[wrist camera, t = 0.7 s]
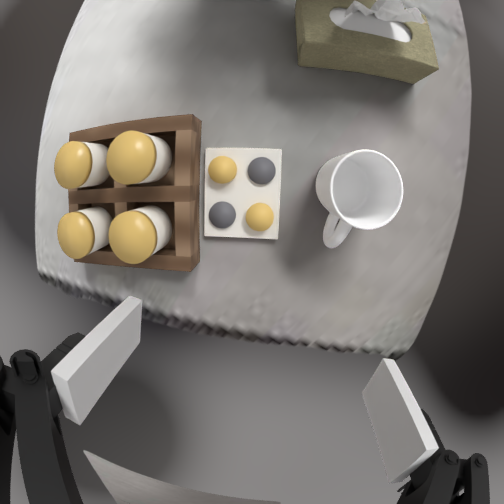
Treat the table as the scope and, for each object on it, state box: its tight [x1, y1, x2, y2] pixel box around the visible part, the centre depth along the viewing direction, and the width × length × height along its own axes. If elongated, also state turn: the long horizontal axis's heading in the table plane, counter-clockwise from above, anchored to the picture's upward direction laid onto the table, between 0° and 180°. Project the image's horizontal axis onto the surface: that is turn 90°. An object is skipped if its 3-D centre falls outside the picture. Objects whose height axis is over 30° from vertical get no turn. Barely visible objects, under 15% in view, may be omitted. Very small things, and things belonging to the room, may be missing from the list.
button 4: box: [109, 205, 172, 264], centre depth 31 cm, size 6×6×6 cm
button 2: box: [57, 206, 113, 259], centre depth 32 cm, size 6×6×6 cm
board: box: [68, 114, 202, 272], centre depth 35 cm, size 20×20×5 cm
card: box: [204, 148, 282, 239], centre depth 35 cm, size 12×10×2 cm
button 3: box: [106, 131, 172, 184], centre depth 29 cm, size 6×6×6 cm
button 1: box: [54, 141, 110, 189], centre depth 30 cm, size 6×6×6 cm
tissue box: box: [295, 0, 439, 84], centre depth 22 cm, size 19×10×16 cm, turn 90°
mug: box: [316, 149, 403, 248], centre depth 31 cm, size 12×8×10 cm
